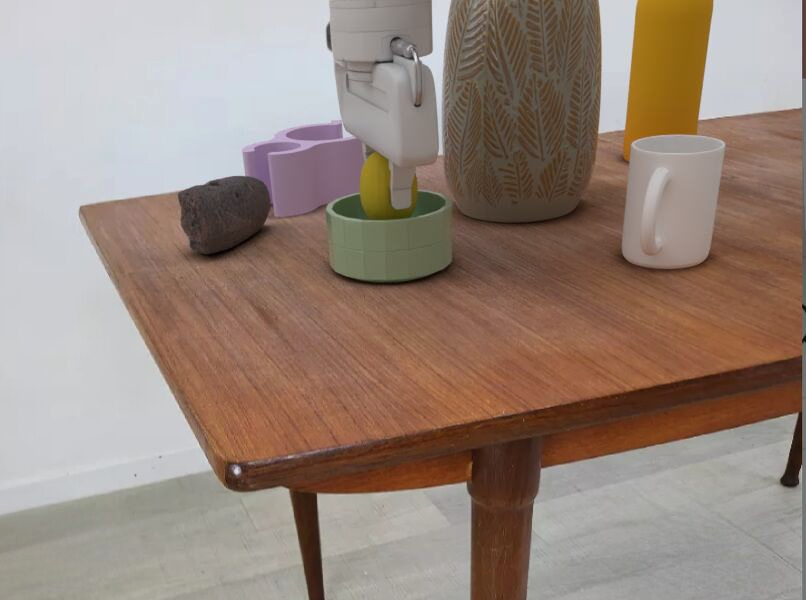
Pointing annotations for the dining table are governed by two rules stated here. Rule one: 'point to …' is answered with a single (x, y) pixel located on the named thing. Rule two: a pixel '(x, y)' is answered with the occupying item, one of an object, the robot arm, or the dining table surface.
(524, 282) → the dining table surface
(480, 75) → the vase
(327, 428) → the dining table surface
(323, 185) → the clip
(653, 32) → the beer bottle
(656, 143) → the mug
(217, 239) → the perforated stone tool
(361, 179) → the lemon
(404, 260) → the green planter pot
